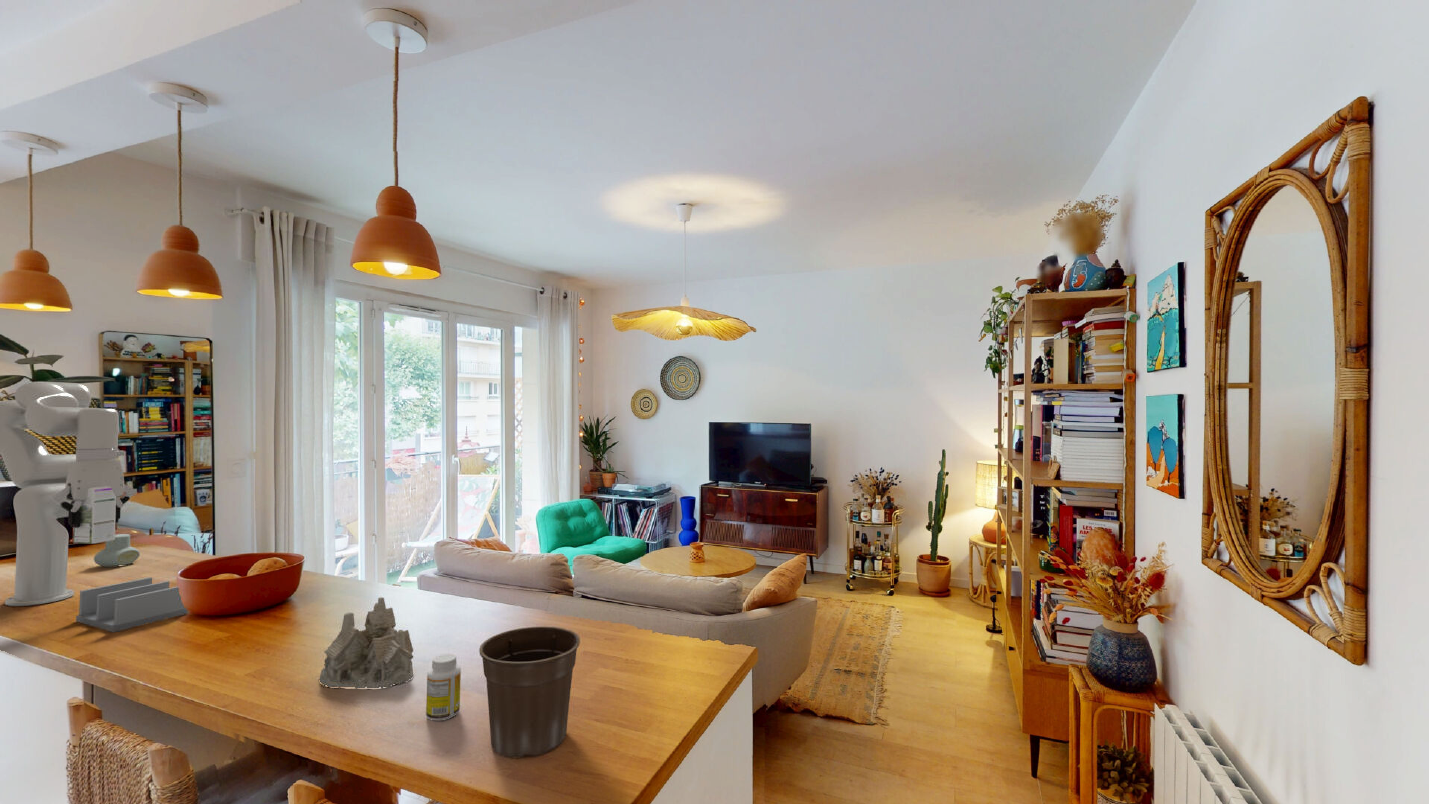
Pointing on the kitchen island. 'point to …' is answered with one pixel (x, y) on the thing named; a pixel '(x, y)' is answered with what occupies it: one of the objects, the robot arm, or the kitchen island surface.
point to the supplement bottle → (443, 688)
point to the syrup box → (97, 517)
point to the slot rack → (129, 604)
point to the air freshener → (117, 552)
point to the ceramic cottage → (369, 653)
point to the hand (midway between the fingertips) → (94, 524)
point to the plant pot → (529, 688)
